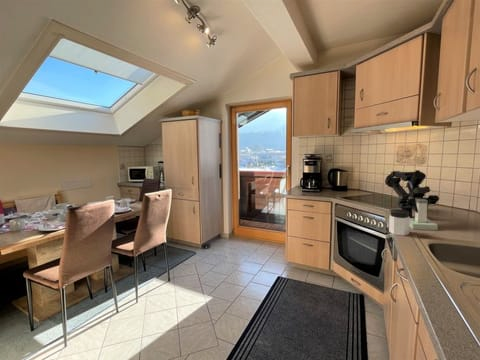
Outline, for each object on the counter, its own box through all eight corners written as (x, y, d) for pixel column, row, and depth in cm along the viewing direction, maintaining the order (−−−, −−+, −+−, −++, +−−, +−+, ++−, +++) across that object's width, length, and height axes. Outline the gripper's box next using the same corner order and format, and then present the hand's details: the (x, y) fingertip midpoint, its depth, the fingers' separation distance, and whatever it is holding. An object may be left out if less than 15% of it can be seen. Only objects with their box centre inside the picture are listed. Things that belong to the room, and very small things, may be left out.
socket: (404, 222, 143) (405, 218, 143) (427, 223, 140) (427, 218, 140) (412, 229, 133) (413, 224, 132) (437, 230, 130) (437, 224, 129)
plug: (414, 222, 139) (415, 198, 137) (422, 222, 138) (424, 199, 136) (417, 225, 135) (418, 200, 133) (426, 225, 134) (427, 200, 132)
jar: (401, 236, 123) (402, 214, 122) (386, 232, 131) (386, 210, 129) (412, 233, 127) (412, 211, 126) (396, 229, 134) (396, 208, 133)
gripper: (400, 181, 139) (407, 204, 130) (438, 181, 134) (448, 205, 125) (395, 192, 148) (401, 214, 139) (430, 192, 143) (439, 215, 134)
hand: (422, 212), depth 134 cm, fingers closed on plug, 4 cm apart
